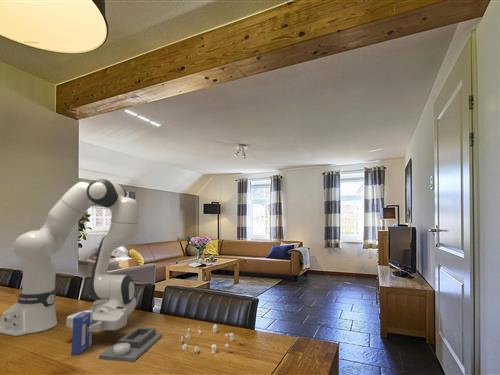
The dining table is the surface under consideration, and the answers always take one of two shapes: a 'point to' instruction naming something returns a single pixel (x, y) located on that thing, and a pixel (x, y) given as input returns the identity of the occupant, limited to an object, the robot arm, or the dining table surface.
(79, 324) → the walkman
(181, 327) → the dining table surface
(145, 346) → the housing
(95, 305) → the mechanical component
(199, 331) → the game piece set
